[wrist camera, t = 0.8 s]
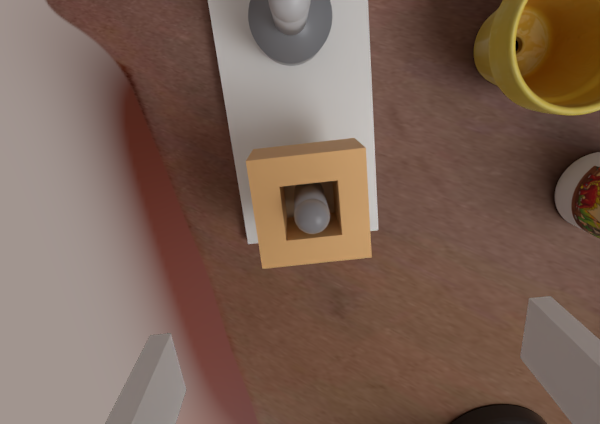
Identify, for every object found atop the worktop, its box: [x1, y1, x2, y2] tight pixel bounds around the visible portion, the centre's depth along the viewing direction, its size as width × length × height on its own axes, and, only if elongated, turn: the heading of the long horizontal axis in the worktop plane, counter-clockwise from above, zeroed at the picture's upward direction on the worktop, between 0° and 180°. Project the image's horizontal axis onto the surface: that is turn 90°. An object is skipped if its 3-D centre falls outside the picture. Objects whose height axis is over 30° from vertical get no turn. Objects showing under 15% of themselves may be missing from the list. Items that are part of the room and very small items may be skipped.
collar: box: [246, 138, 372, 269], centre depth 29 cm, size 8×8×5 cm
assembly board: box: [208, 0, 378, 244], centre depth 28 cm, size 25×13×13 cm, turn 6°
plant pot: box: [474, 0, 600, 115], centre depth 29 cm, size 10×10×10 cm
